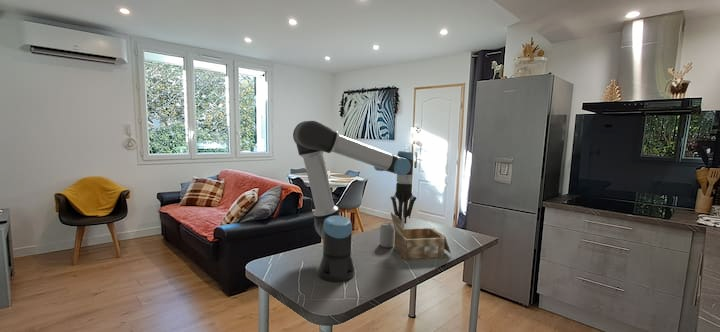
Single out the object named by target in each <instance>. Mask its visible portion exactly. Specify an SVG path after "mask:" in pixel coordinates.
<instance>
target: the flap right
mask: <svg viewBox="0 0 720 332" xmlns="http://www.w3.org/2000/svg"><path fill="white" fill-rule="evenodd" d="M431 229H433V230H434V231H436V232H437V233H439V234H440V235H441V236H443V237H444V238H445V246H444V251H446V252H448V253H449V254H451V249H450V246H449V243H448V241H447V240H448V239H447V238H446V236H445V235H443V234H442V233H440V232H439V231H438V230H436V229H435V228H431Z"/></svg>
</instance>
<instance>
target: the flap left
mask: <svg viewBox="0 0 720 332" xmlns="http://www.w3.org/2000/svg"><path fill="white" fill-rule="evenodd" d="M390 216H391V220H392V224H393V226H394V231H395V230H396V231H397V232H398V233H399V234H400V235H401V236H402V237H404V233H403V228H402V224H401V220H400V219H399V218H398V216H396V215H395V213H394V212H392V211H390ZM404 238H405V237H404Z"/></svg>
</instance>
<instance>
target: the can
mask: <svg viewBox="0 0 720 332" xmlns="http://www.w3.org/2000/svg"><path fill="white" fill-rule="evenodd" d="M394 242H395V229H394V225H393V222H387V221H386V222H381V225H380V226H379V245H380V247H382V248H392V247H393V246H394Z"/></svg>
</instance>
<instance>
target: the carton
mask: <svg viewBox="0 0 720 332" xmlns="http://www.w3.org/2000/svg"><path fill="white" fill-rule="evenodd" d="M433 229H434V228H433ZM433 229H432V228H430V227H428V228H427V227H425V228H424V227H423V228H422V227H421V228H419V227H417V228H404V231H403V233H404V237H405V238H404V237H402V236H401V235H400V234H399V233H398V232H397V231H396V230H395V229H394V245H393V246H394V250H395V251H396V252H397V253H398V254H399V255H400V256H401V258H402V259H403V260H404V261H411V260H412V261H414V260H432V259H444V258H445V249H444V246H445V238H444V237H443V236H441V235H440V234H439V233H440V232H439V233H437V232H436V231H437V230H436V231H434V230H433Z"/></svg>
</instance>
